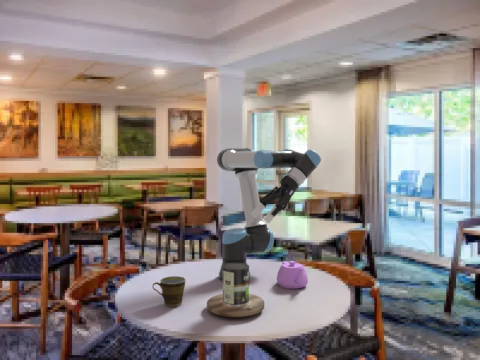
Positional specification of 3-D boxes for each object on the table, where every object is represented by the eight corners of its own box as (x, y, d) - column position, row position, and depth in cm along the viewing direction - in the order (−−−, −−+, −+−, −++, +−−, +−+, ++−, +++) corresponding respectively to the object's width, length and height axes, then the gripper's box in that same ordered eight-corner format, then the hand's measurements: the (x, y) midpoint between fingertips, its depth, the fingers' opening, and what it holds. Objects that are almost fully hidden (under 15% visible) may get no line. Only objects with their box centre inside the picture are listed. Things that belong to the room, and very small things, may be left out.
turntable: (196, 307, 159) (196, 298, 159) (241, 296, 172) (241, 287, 172) (228, 326, 141) (228, 316, 141) (276, 312, 154) (276, 302, 154)
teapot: (289, 294, 174) (289, 268, 174) (270, 281, 193) (270, 257, 192) (316, 291, 179) (317, 266, 178) (295, 278, 197) (296, 255, 197)
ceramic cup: (184, 299, 168) (184, 275, 168) (186, 308, 159) (186, 282, 158) (152, 301, 166) (152, 277, 165) (152, 310, 156) (152, 285, 155)
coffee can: (251, 298, 160) (251, 263, 160) (246, 307, 150) (246, 270, 150) (225, 296, 162) (225, 261, 162) (219, 306, 152) (219, 268, 152)
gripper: (313, 189, 159) (278, 229, 155) (284, 185, 182) (253, 220, 178) (301, 175, 157) (265, 216, 152) (273, 173, 180) (242, 208, 176)
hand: (259, 218), depth 165 cm, fingers open, 13 cm apart
